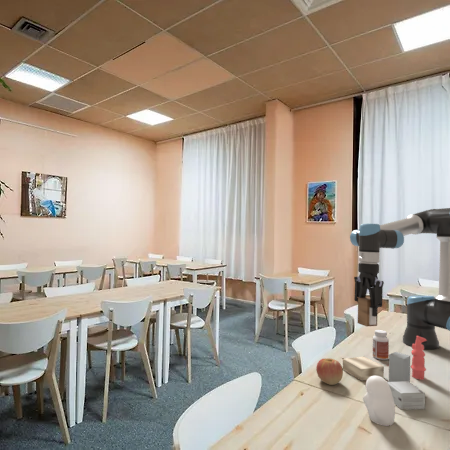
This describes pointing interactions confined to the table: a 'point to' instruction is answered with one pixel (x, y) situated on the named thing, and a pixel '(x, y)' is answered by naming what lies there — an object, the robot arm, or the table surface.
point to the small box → (407, 395)
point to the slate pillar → (399, 367)
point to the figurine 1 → (379, 401)
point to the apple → (329, 371)
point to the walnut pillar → (364, 311)
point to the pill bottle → (380, 345)
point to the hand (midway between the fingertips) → (367, 322)
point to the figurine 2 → (418, 359)
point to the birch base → (362, 367)
